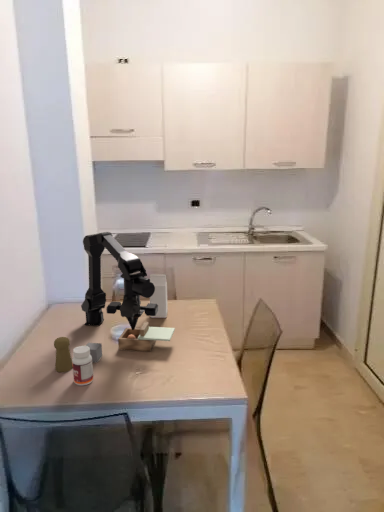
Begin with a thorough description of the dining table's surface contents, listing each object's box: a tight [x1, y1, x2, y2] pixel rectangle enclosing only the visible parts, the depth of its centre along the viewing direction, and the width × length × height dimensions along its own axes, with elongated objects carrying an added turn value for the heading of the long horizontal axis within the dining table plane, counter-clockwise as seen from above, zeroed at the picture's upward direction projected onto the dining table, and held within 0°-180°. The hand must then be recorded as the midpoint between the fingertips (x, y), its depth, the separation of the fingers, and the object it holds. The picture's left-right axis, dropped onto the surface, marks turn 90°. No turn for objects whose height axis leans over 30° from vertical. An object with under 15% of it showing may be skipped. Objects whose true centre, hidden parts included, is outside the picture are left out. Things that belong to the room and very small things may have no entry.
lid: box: [138, 321, 176, 342], centre depth 155 cm, size 12×10×3 cm
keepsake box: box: [117, 327, 157, 353], centre depth 157 cm, size 12×10×4 cm
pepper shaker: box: [53, 336, 73, 373], centre depth 140 cm, size 6×6×11 cm
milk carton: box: [149, 274, 168, 319], centre depth 184 cm, size 7×7×19 cm
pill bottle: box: [71, 345, 94, 386], centre depth 132 cm, size 6×6×11 cm
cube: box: [85, 342, 103, 364], centre depth 147 cm, size 5×5×5 cm
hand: (133, 329), depth 156 cm, fingers closed
